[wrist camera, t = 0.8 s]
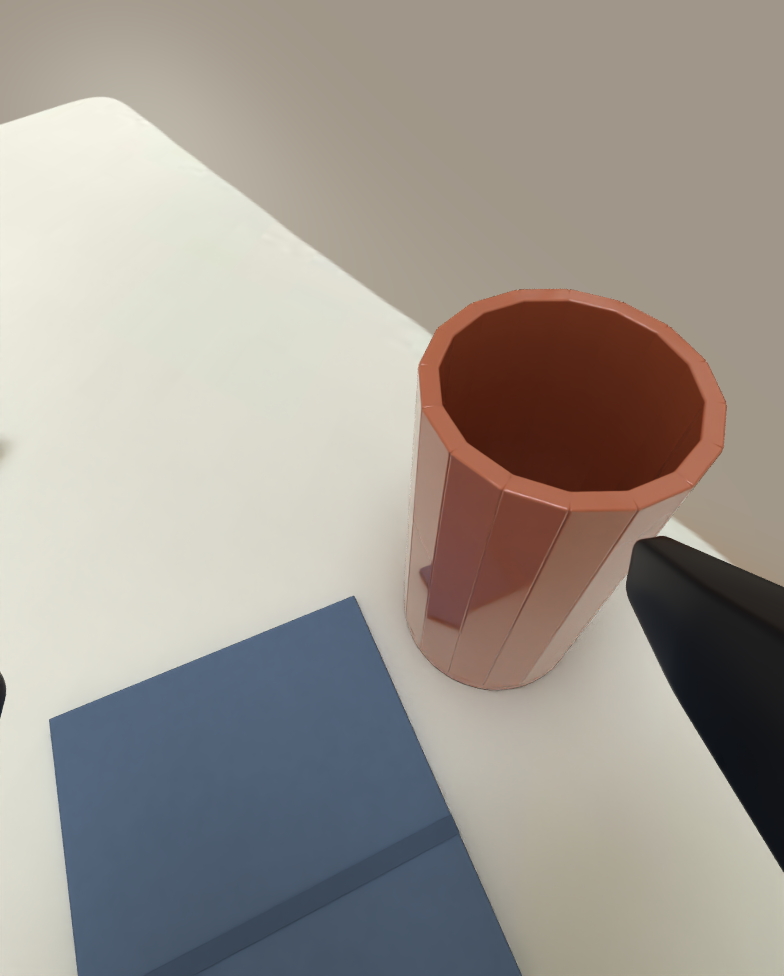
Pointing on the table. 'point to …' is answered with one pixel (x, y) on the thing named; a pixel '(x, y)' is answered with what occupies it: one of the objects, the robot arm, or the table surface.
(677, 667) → the robot arm
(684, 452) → the pencil cup
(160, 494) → the table surface
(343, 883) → the napkin
